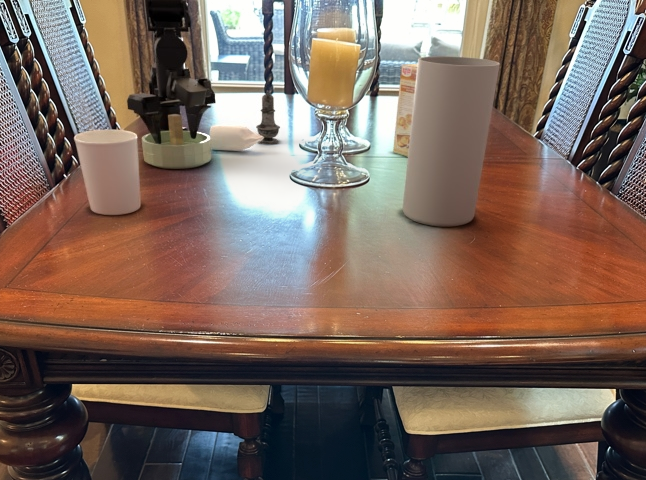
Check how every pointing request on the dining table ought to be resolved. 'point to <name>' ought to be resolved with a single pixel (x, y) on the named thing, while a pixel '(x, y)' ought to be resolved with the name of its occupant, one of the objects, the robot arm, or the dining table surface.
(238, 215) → the dining table surface
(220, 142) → the white milk carton
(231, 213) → the dining table surface
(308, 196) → the dining table surface
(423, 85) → the cylinder vase
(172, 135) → the stick
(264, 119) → the salt shaker
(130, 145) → the white cup
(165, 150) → the bowl
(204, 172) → the dining table surface
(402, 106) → the coffeecake box
